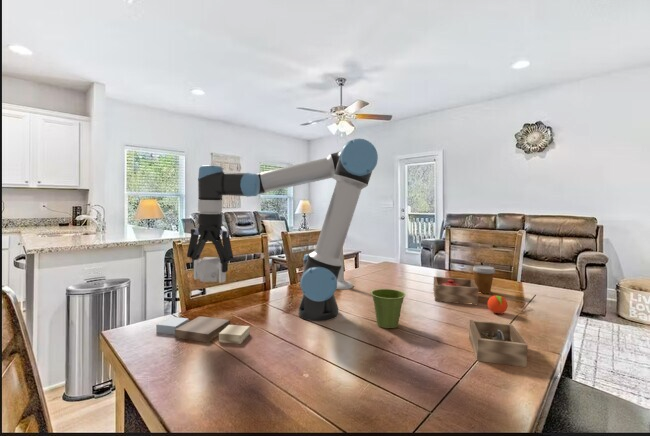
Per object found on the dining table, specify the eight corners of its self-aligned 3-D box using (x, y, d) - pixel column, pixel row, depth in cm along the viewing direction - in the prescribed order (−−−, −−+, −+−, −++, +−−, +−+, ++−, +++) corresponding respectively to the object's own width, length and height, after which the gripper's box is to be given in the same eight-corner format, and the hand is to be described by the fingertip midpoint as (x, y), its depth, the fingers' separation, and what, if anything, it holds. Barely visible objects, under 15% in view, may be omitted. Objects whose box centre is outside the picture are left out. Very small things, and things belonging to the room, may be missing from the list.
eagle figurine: (472, 343, 99) (494, 352, 89) (483, 320, 100) (506, 327, 91) (494, 357, 100) (518, 367, 90) (505, 334, 101) (529, 342, 92)
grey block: (188, 327, 113) (188, 318, 112) (175, 335, 106) (175, 326, 105) (170, 325, 114) (170, 316, 114) (156, 333, 107) (156, 324, 107)
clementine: (510, 318, 123) (511, 299, 123) (490, 316, 125) (491, 298, 124) (503, 311, 131) (504, 293, 131) (484, 309, 133) (485, 292, 132)
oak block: (249, 335, 107) (249, 326, 106) (240, 344, 100) (240, 335, 99) (229, 333, 108) (228, 324, 107) (219, 343, 101) (218, 333, 101)
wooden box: (471, 294, 153) (472, 279, 153) (477, 304, 138) (478, 288, 138) (433, 290, 158) (433, 276, 158) (435, 301, 143) (435, 285, 142)
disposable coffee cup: (495, 291, 158) (496, 266, 157) (492, 296, 150) (493, 270, 149) (473, 288, 163) (474, 264, 163) (470, 293, 155) (471, 267, 155)
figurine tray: (510, 343, 102) (511, 324, 102) (526, 367, 88) (527, 345, 87) (469, 338, 105) (469, 319, 105) (477, 360, 91) (478, 339, 90)
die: (206, 287, 105) (225, 262, 107) (185, 272, 106) (204, 248, 108) (214, 290, 112) (232, 266, 115) (195, 275, 114) (213, 252, 116)
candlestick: (329, 282, 172) (329, 224, 170) (353, 283, 171) (354, 225, 169) (325, 288, 160) (326, 227, 158) (352, 290, 158) (353, 227, 156)
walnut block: (230, 328, 112) (229, 320, 112) (208, 343, 100) (207, 334, 100) (199, 324, 115) (199, 316, 115) (175, 338, 104) (174, 329, 104)
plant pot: (406, 321, 119) (407, 290, 118) (402, 333, 108) (403, 300, 107) (373, 316, 123) (374, 287, 122) (367, 328, 112) (367, 296, 111)
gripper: (245, 214, 109) (244, 281, 111) (190, 211, 116) (190, 274, 117) (232, 215, 102) (231, 286, 104) (175, 211, 109) (174, 279, 110)
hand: (209, 280), depth 111 cm, fingers closed on die, 9 cm apart
